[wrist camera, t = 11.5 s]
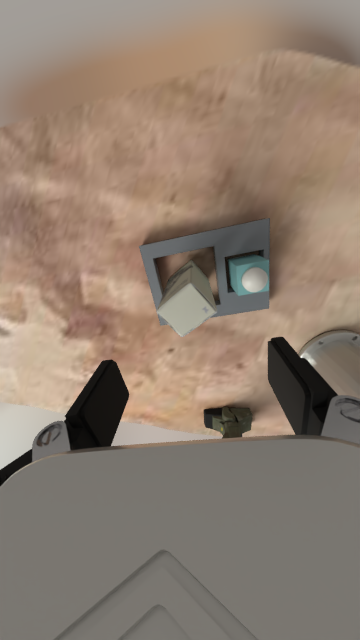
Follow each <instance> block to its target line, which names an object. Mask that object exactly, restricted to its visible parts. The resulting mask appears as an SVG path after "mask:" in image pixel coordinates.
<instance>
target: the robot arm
mask: <svg viewBox="0 0 360 640" xmlns="http://www.w3.org/2000/svg"><path fill="white" fill-rule="evenodd" d="M268 380H269V383H270V385H271V387H272V389H273V391H274V393H275V395H276V397H277V399H278V401H279V403H280V405H281V407H282V409H283V411H284V413H285V415H286V417H287V419H288V421H289V422H290V424H291V426H292V428H293V430H294V432H295V434H296V435H277V436H255V437H239V438H223V439H209V440H193V441H178V442H166V443H165V442H164V443H149V444H136V445H123V446H111V444H112V441H113V438H114V436H115V433H116V430H117V428H118V425H119V422H120V420H121V417H122V414H123V412H124V409H125V406H126V403H127V401H128V398H129V392H128V389H127V387H126V385H125V382H124V380H123V378H122V375H121V373H120V370H119V368H118V366H117V363H116V362H115V361H113V360H105V361H102V362H101V364H100V365H99V366H98V368H97V369H96V371H95V372H94V374H93V375H92V377H91V378H90V380H89V381H88V383H87V384H86V386H85V387H84V389H83V390H82V392H81V393H80V395H79V396H78V398H77V399H76V401H75V402H74V404H73V405H72V406H71V408H70V409H69V411H68V412H67V414H66V415H65V417H66V420H65V421H64V422H63V421H57V422H53V423H51V424H49V425H48V426H46V427H45V428H44V429H43V430H41V431H40V432H39V434H38V435H37V436H36V437H35V439H34V441H33V447H32V449H31V450H29V451H28V452H26V453H25V454H23V455H22V456H21V457H19V458H18V459H16V460H14V461H13V462H11V463H10V464H8V465H7V466H6V467H4V468H3V469H1V470H0V640H360V335H359V334H357V333H355V332H353V331H348V330H337V331H331V332H327V333H324V334H322V335H319V336H317V337H316V338H314V339H312V340H311V341H310V342H308V343H307V344H306V345H305V346H304V347H303V348H302V349H301V351H300V353H299V354H297V353H296V352H295V350H294V349H293V348H292V347H291V346H290V345H289V343H288V342H287V341H286V340H285V339H284V338H283V337H276V338H272V339H271V341H268Z"/></svg>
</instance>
